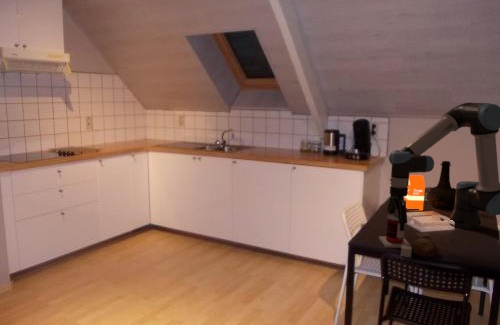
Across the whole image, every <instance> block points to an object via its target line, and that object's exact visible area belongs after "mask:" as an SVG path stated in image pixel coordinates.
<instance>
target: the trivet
mask: <svg viewBox="0 0 500 325" xmlns="http://www.w3.org/2000/svg"><path fill="white" fill-rule="evenodd" d="M378 240H380V242H381V243H382V244H383V246H384V247H385V248H395V249H397V248H398V249H399V248H400V249H401V247H402V245H406V246H412V245H411V244H410V242H408V240H406V238H404V240H403V242H402V243H391V242H388V241H387V240H386V235H385V236H380V235H378Z"/></svg>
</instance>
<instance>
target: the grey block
mask: <svg viewBox="0 0 500 325" xmlns="http://www.w3.org/2000/svg"><path fill="white" fill-rule="evenodd" d="M411 250H412V245H411V246H406V245H402V247H401V248H400V257H401V256H405V257H410V258H411V259H412V251H411ZM410 258H409V259H410Z"/></svg>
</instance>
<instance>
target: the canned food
mask: <svg viewBox="0 0 500 325" xmlns="http://www.w3.org/2000/svg"><path fill="white" fill-rule="evenodd" d="M388 215H389V214H388ZM398 222H399V218H398V214H395V215H389V216H387V220H386V232H385V236H386V240H387V241H388V242H391V243H402V242H403V240H404V239H405V237H404V238H397V230H398ZM404 232H405V229H404Z"/></svg>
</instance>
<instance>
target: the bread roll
mask: <svg viewBox="0 0 500 325" xmlns="http://www.w3.org/2000/svg"><path fill="white" fill-rule="evenodd" d="M411 246H412V250H411V253H413V254H416V255H417V256H420V257H427V258H429V257H434V256H436V254H437V253H438V249H437V248H438V247H437V246H436V244H435V242H434V241H432V240H431V241H430V240H428V239H424V238H420V239H417V240H416V241H415V242H414V241H413V243H412V245H411Z"/></svg>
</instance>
